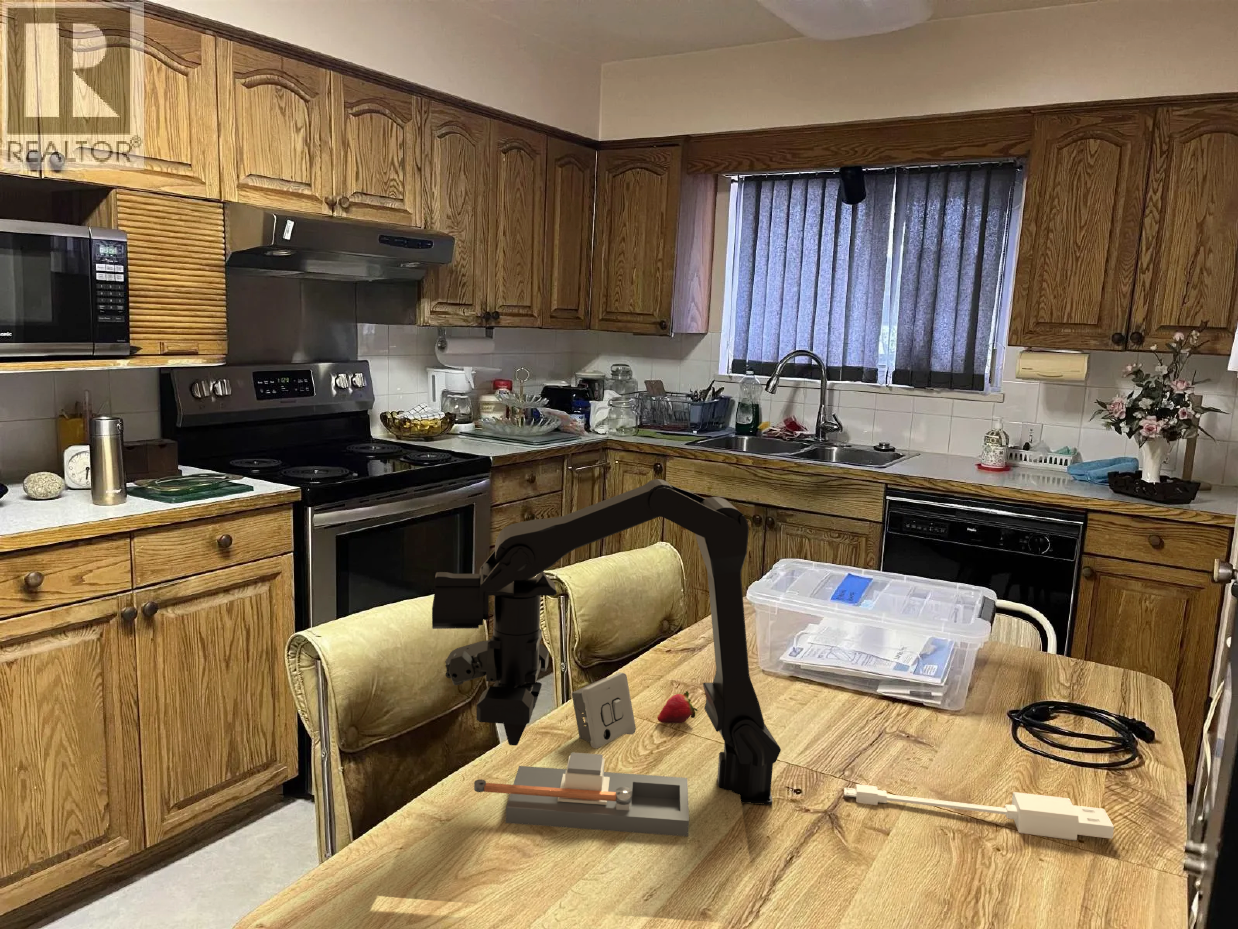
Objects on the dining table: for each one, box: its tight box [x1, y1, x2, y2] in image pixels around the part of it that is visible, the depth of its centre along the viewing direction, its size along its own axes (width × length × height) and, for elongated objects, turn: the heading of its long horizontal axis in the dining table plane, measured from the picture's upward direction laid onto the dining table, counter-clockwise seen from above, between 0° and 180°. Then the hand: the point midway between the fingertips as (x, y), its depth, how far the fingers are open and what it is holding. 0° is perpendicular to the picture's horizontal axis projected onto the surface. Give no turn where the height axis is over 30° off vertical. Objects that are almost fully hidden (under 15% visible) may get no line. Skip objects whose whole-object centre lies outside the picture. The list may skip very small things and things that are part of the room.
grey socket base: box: [505, 765, 690, 837], centre depth 114 cm, size 22×10×4 cm, turn 87°
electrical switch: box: [571, 672, 637, 749], centre depth 134 cm, size 9×5×9 cm, turn 141°
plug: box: [558, 751, 610, 805], centre depth 114 cm, size 6×6×6 cm
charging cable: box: [843, 783, 1115, 841], centre depth 119 cm, size 5×32×3 cm, turn 78°
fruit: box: [657, 690, 698, 724], centre depth 140 cm, size 4×6×5 cm
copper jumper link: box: [473, 778, 632, 805], centre depth 111 cm, size 19×2×1 cm, turn 87°
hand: (513, 744), depth 116 cm, fingers closed
